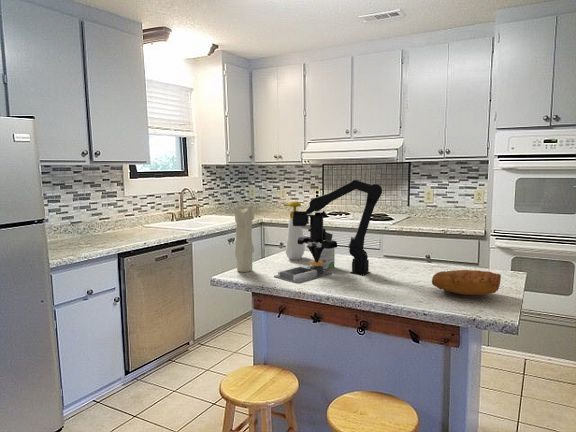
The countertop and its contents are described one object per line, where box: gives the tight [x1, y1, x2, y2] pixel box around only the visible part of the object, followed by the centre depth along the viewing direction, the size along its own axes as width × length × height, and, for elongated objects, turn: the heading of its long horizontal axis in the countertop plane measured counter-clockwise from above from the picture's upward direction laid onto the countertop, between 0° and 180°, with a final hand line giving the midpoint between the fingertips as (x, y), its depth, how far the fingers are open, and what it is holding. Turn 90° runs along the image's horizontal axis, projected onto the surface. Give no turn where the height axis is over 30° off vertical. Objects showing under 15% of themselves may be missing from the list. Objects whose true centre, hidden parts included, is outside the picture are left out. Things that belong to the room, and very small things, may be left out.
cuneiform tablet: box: [431, 269, 502, 296], centre depth 149 cm, size 22×17×8 cm
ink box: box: [313, 248, 336, 270], centre depth 191 cm, size 8×5×12 cm, turn 123°
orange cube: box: [309, 260, 324, 268], centre depth 184 cm, size 4×4×4 cm
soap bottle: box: [283, 201, 306, 261], centre depth 210 cm, size 13×10×29 cm
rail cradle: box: [273, 265, 333, 284], centre depth 178 cm, size 14×21×3 cm, turn 134°
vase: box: [233, 203, 255, 273], centre depth 186 cm, size 9×8×30 cm
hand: (316, 261), depth 183 cm, fingers closed, pressing on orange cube
